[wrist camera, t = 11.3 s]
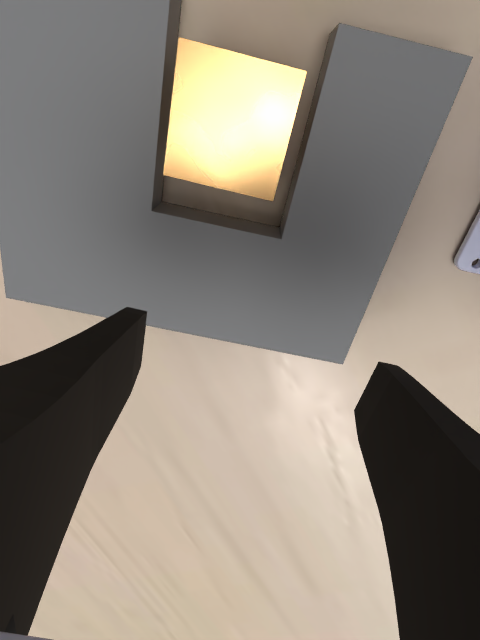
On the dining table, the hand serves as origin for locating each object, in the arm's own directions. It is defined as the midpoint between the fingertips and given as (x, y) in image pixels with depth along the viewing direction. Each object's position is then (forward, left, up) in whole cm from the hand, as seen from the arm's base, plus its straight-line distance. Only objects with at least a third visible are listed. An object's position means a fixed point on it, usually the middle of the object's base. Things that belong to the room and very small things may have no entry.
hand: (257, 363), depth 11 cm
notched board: (+3, -3, -9) cm, 10 cm away
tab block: (+2, -6, -10) cm, 11 cm away
